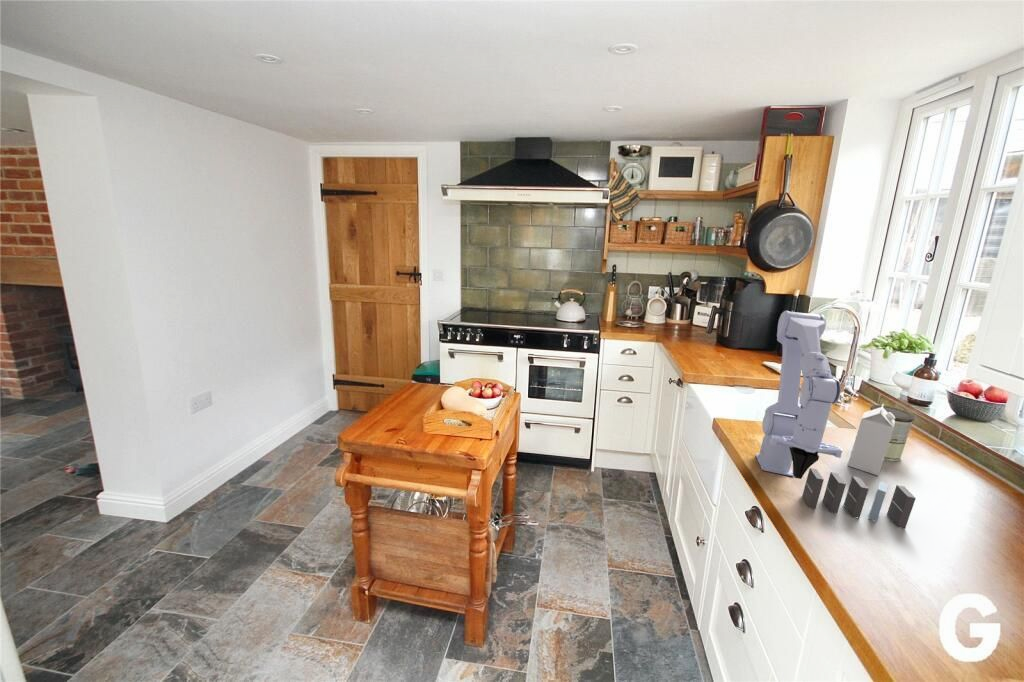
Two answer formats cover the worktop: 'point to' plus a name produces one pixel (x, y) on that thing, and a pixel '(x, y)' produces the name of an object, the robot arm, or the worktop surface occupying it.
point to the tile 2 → (834, 492)
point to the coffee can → (897, 432)
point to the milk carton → (872, 440)
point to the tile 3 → (856, 496)
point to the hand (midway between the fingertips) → (796, 476)
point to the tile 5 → (901, 506)
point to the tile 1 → (812, 488)
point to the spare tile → (878, 501)
